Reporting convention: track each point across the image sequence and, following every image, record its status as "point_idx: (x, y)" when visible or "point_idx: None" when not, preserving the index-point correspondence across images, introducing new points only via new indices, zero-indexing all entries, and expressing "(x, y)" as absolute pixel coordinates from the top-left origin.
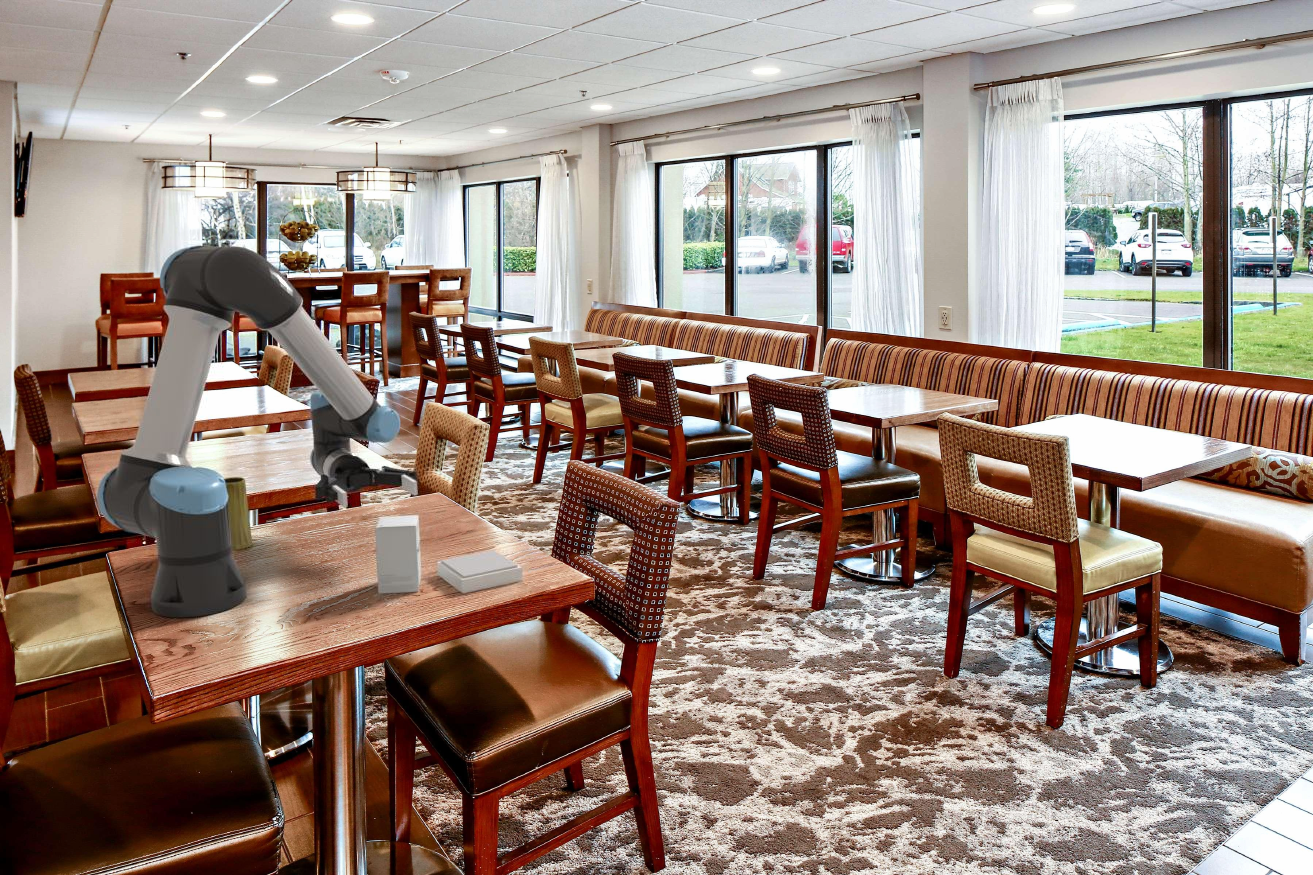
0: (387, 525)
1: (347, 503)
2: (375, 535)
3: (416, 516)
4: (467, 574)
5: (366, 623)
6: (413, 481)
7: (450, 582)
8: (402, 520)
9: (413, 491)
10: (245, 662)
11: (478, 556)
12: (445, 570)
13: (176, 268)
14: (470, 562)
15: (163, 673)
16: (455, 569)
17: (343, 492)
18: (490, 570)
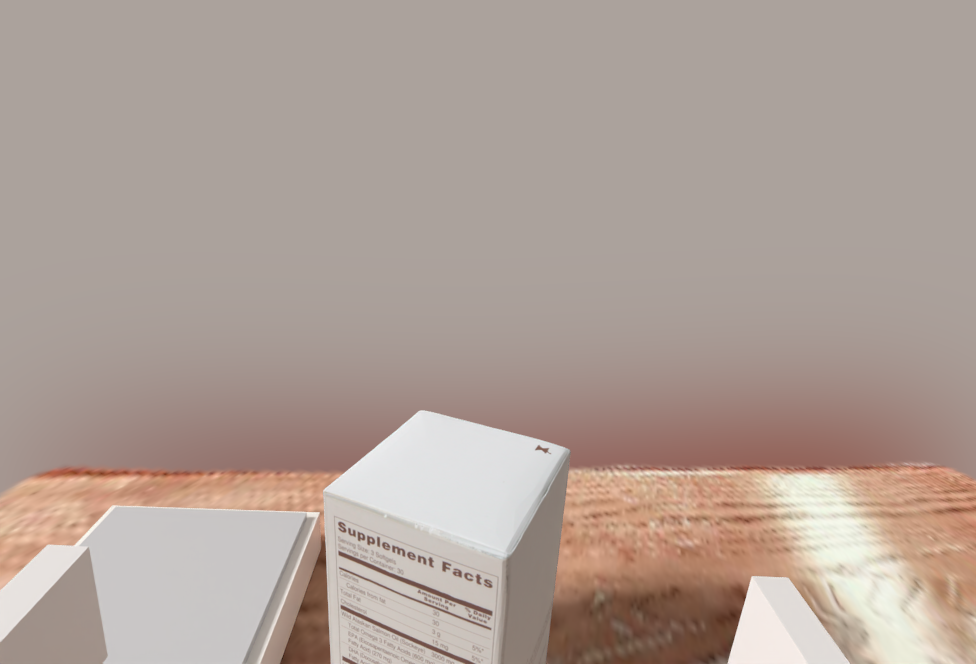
0: (517, 442)
1: (729, 658)
2: (567, 478)
3: (345, 478)
4: (288, 517)
5: (611, 518)
6: (66, 557)
7: (293, 618)
8: (436, 457)
9: (100, 629)
10: (849, 489)
11: None
12: (278, 627)
13: None
14: (183, 594)
15: None
16: (281, 564)
17: (785, 592)
18: (212, 512)
